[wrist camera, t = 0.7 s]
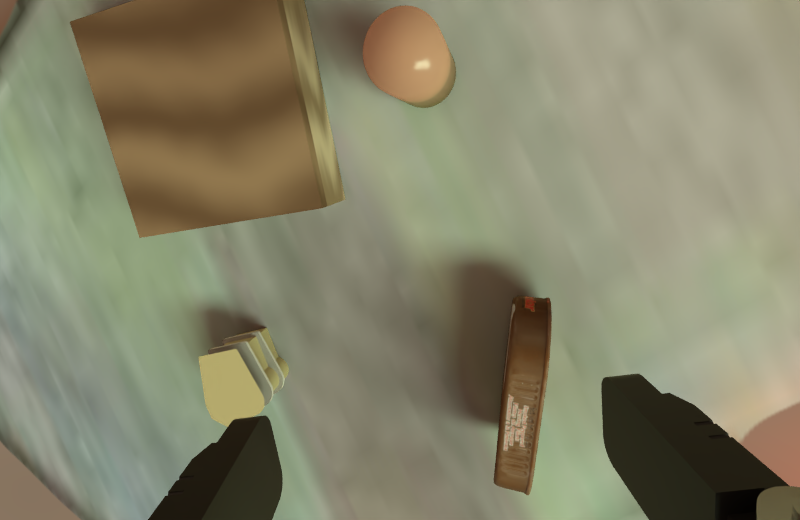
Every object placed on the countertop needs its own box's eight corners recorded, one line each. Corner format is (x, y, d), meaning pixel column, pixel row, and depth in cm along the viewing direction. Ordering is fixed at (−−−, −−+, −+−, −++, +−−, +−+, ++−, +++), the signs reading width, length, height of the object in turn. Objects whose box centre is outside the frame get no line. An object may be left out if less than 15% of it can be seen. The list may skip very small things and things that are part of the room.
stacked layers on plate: (206, 321, 41) (164, 346, 36) (284, 302, 39) (252, 326, 34) (243, 410, 43) (209, 446, 38) (320, 396, 41) (295, 433, 36)
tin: (526, 444, 37) (535, 525, 29) (490, 438, 38) (489, 516, 30) (548, 282, 33) (565, 326, 25) (507, 278, 34) (511, 320, 26)
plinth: (126, 38, 35) (69, 21, 30) (301, -16, 31) (266, -45, 26) (182, 226, 39) (139, 237, 34) (345, 199, 35) (322, 207, 30)
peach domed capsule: (388, 48, 31) (355, 18, 23) (451, 33, 30) (436, -5, 22) (399, 113, 32) (371, 103, 25) (460, 100, 31) (449, 86, 23)
